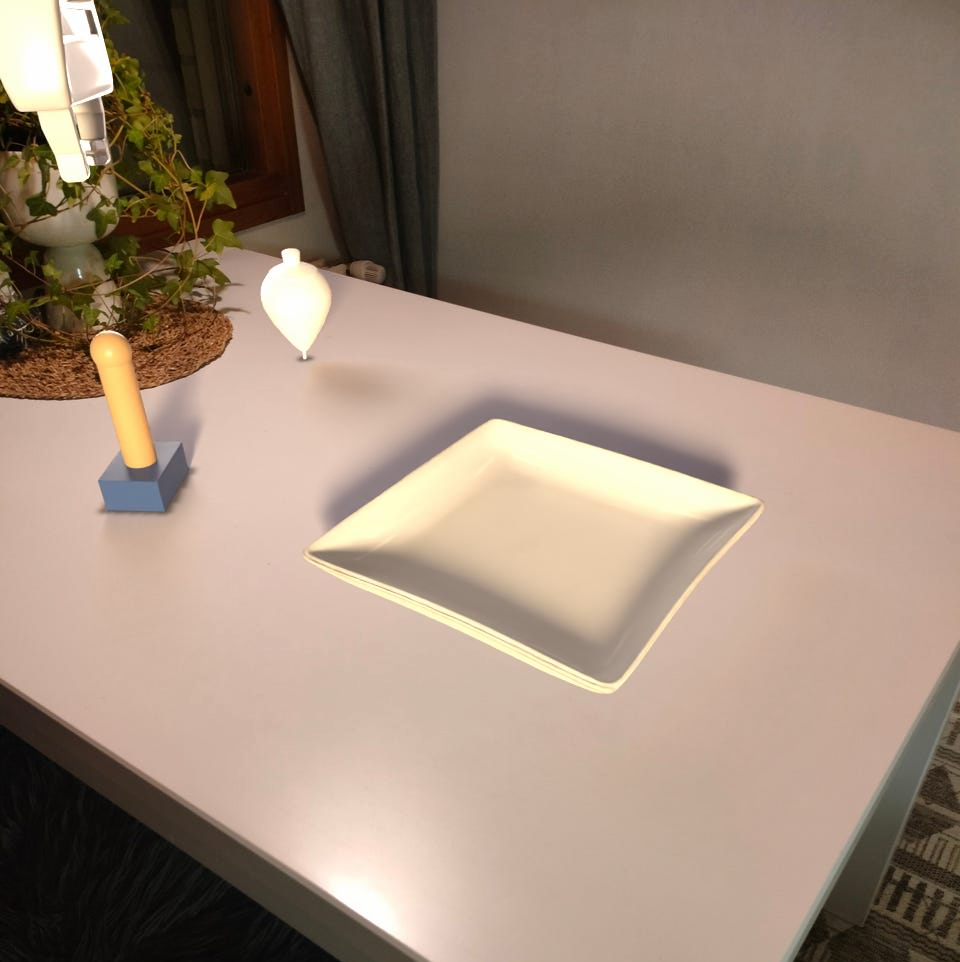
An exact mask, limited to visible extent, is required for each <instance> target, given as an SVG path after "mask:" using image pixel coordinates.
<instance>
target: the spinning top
mask: <svg viewBox="0 0 960 962" xmlns="http://www.w3.org/2000/svg"><path fill="white" fill-rule="evenodd" d="M281 257H282V260H283V262H281V263H279V264H277V265H275V266H273V267H272V268H271V269H269V271H268V273H267V275H266V276H265V278H264V279H263V282H262V285H261V288H260V299H261V300H260V301H261V304H262V307H263V309H264V311H265V313H266V314H267V316H268V318H269V319H270V321H271V322H272V323H273V325H274V326H275V327H276V328H277V329H278V331H279V332H280V333H281V334H282V335H283V336H284V337H285V338H286V339H287V340H288V342H290V343H291V344H292V345H293V346H294V347H295V348H296V349H297V350H299V351H300V352H302V359H303V360H306V359H307V351H309V350H310V348H311V347H312V345H313V344H314V342H315V341H316V339H317V338H318V335H319V334H320V332H321V330H322V328H323V326H324V325H325V323H326V320H327V317H328V315H329V312H330V309H331V306H332V301H333V295H332V294H333V293H332V288H331V285H330V283H329V281H328V279H327V278H326V277H325V275H324V274H323V273H322V272H321V271H320V269H319V270H318V268H317V266H315V265H313V264H311V263H308V262H304V261H301V251H300V250H299V249H297V248H294V247H293V248H292V247H291V248H290V247H289V248H285V249H283V250H282V251H281Z"/></svg>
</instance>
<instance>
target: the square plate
mask: <svg viewBox="0 0 960 962" xmlns="http://www.w3.org/2000/svg"><path fill="white" fill-rule="evenodd" d="M765 507H766V504H765V502H764V501H763V500H762V499H761V498H758V497H755V496H753V495H750V494H746V493H744V492H740V491H736V490H734V489H731V488H728V487H725V486H722V485H718V484H716V483H713V482H710V481H707V480H703V479H701V478H698V477H695V476H692V475H689V474H686V473H683V472H680V471H676V470H674V469H670V468H668V467H665V466H661V465H658V464H655V463H652V462H649V461H645V460H642V459H639V458H635V457H633V456H630V455H626V454H624V453H623V454H622V453H620V452H616V451H613V450H610V449H607V448H603V447H600V446H596V445H594V444H590V443H586V442H583V441H580V440H577V439H573V438H569V437H567V436H563V435H559V434H555V433H552V432H548V431H546V430H541V429H538V428H534V427H532V426H527V425H524V424H520V423H517V422H514V421H510V420H506V419H504V418H503V419H502V418H496V417H495V418H491V419H487V421H485V422H483V423H482V424H480V425H479V426H477V427H476V428H473V430H471V431H470V432H468V433H466V434H464V435H463V436H462V437H461V438H459V439H458V440H455V442H453V443H452V444H450V445H449V446H447V447H446V448H444V449H443V450H441V451H440V452H438V453H437V454H436V455H434V456H433V457H431V458H430V459H428V460H427V461H426V462H424V463H422V464H421V465H420V466H418V467H417V468H414V470H412V471H411V472H410V473H408V474H406V475H405V476H404V477H402V478H401V479H399V480H398V481H397V482H395V483H393V484H392V485H391V486H390V487H388V488H387V489H385V490H384V491H382V492H381V493H380V494H378V495H377V496H376V497H374V498H372V499H370V501H368V502H367V503H365V504H363V505H362V506H361V507H360V508H358V509H357V510H356V511H354V512H352V513H351V514H350V515H348V516H347V517H346V518H344V519H343V520H341V521H340V522H339V523H337V524H335V525H334V526H333V527H332V528H330V529H329V530H327V531H326V532H324V533H323V534H322V535H321V536H319V537H318V538H316V539H315V540H314V541H313V542H311V543H310V544H309V545H308V546H307V547H305V548H303V550H302V552H301V556H302V557H303V558H304V560H306V561H307V562H309V563H311V564H312V565H314V566H315V567H317V568H318V569H321V570H323V571H324V572H326V573H328V574H330V575H332V576H334V577H335V578H338V579H340V580H342V581H344V582H346V583H348V584H350V585H352V586H355V587H357V588H359V589H362V590H364V591H367V592H369V593H372V594H374V595H376V596H380V597H381V598H384V599H386V600H389V601H392V602H394V603H396V604H399V605H400V606H403V607H405V608H407V609H411V610H412V611H415V612H417V613H419V614H421V615H423V616H425V617H428V618H430V619H433V620H434V621H437V622H439V623H441V624H444V625H446V626H447V627H450V628H453V629H455V630H457V631H460V632H461V633H463V634H466V635H467V636H470V637H472V638H474V639H475V640H478V641H480V642H482V643H484V644H487V645H489V646H491V647H493V648H494V649H497V650H498V651H501V652H503V653H505V654H507V655H509V656H511V657H513V658H515V659H517V660H519V661H522V662H524V663H526V664H527V665H529V666H531V667H533V668H536V669H537V670H539V671H542V672H543V673H546V674H548V675H551V676H554V677H556V678H557V679H560V680H563V681H565V682H567V683H570V684H572V685H574V686H577V687H580V688H582V689H585V690H587V691H590V692H593V693H598V694H605V695H606V694H607V695H608V694H613V693H615V692H616V691H618V690H619V689H620V688H621V687H622V686H623V685H624V683H626V681H627V680H628V679H629V677H630V676H631V675H632V674H633V673H634V671H635V670H636V669H637V667H638V665H640V663H641V662H642V661H643V659H644V658H645V656H646V655H647V653H649V651H650V649H651V648H652V647H653V645H654V643H655V642H656V641H657V639H658V638H659V637H660V635H661V634H662V632H663V631H664V630H665V628H666V627H667V625H668V624H669V623H670V621H671V620H672V619H673V618H674V616H675V615H676V613H677V612H678V610H679V609H680V608H681V607H682V605H683V604H684V603H685V602H686V600H687V599H688V597H689V596H690V595H691V594H692V592H693V591H694V590H695V588H696V587H697V586H698V585H699V583H700V582H701V581H702V580H703V579H704V577H705V576H706V575H707V574H708V573H709V572H710V571H711V569H712V568H713V567H714V566H715V565H716V564H717V563H718V562H719V561H720V560H721V558H722V557H723V556H724V555H725V554H726V553H727V552H728V551H729V550H730V549H731V548H732V547H733V546H734V545H735V544H736V543H737V542H738V541H739V539H740V538H742V537H743V535H744V534H745V533H746V532H747V531H748V530H749V529H750V528H751V527H752V526H753V525H754V524H755V523H756V521H758V519H759V518H760V516H761V515H762V514H763V512H764V511H765V510H764V509H765Z"/></svg>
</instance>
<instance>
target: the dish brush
mask: <svg viewBox="0 0 960 962" xmlns="http://www.w3.org/2000/svg"><path fill="white" fill-rule="evenodd" d="M89 354H90V357H91V359H92V361H93V362H94V363H95V365H96V369H97V372H98V375H99V379H100V383H101V385H102V390H103V393H104V396H105V400H106V403H107V406H108V410H109V414H110V418H111V421H112V424H113V427H114V432H115V434H116V437H117V441H118V445H119V448H120V449H119V451H118V452H117V454H116V455H115V456H114V457H113V459H112V460H111V462H110V463H109V464H108V465H107V467H106V469H105V470H104V472H103V473H102V474H101V476H100V477H99V478H98V480H97V484H98V485H99V489H100V492H101V495H102V499H103V501H104V505H105V509H106V511H117V512H118V511H119V512H120V511H122V512H124V511H125V512H166V511H167V509H168V507H169V505H170V504H171V502H172V500H173V499H174V497H175V495H176V493H177V491H178V490H179V488H180V486H181V485H182V483H183V481H184V480H185V478H186V476H187V475H188V473H189V465H188V461H187V458H186V457H187V456H186V453H185V449H184V444H183V442H182V441H156V440H154V439H153V435H152V431H151V428H150V427H151V426H150V423H149V420H148V416H147V413H146V408H145V404H144V402H143V398H142V393H141V389H140V386H139V382H138V381H139V380H138V379H137V374H136V370H135V366H134V363H133V348H132V346H131V344H130V342H129V340H128V339H127V337H125V336H124V335H122V334H121V333H119V332H117V331H114V330H103V331H100V332H99V333H97V334H96V335H95V336H93V338H92V340H91V342H90V345H89Z"/></svg>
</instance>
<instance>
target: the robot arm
mask: <svg viewBox="0 0 960 962" xmlns="http://www.w3.org/2000/svg"><path fill="white" fill-rule="evenodd" d="M0 81H1V84H2V87H3V88H4V91H5V92H6V94H7V96H8V98H9V100H10V101H11V103H12V104H13V106H14V108H15V109H16V110H17V111H19V112H24V113H25V112H27V113H28V112H36V113H37V116H38V117H37V118H38V121H39V124H40V127H41V130H42V132H43V135H44V136H45V138H46V140H47V143H48V144H49V147H50V149H51V151H52V153H53V155H54V157H55V161H56V165H57V168H58V172H59V175H60V178H61V179H62V180H63V181H64V182H66V183H80V182H81V183H82V182H83V183H84V182H85V181H86V180H87V179H89V177H90V175H91V170H90V166H91V167H94V166H106V165H107V164H108V163H109V162H110V161H111V158H112V156H111V153H110V152H111V151H110V148H109V143H108V139H107V127H106V115H105V114H106V113H105V109H104V105H103V104H104V103H103V99H102V96H104V95H108V94H110V93H113V90H114V84H113V83H114V82H113V81H114V79H113V73H112V68H111V64H110V61H109V56H108V53H107V48H106V44H105V41H104V36H103V32H102V29H101V25H100V22H99V17H98V14H97V10H96V6H95V4H94V0H0ZM77 128H78V129H77Z"/></svg>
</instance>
